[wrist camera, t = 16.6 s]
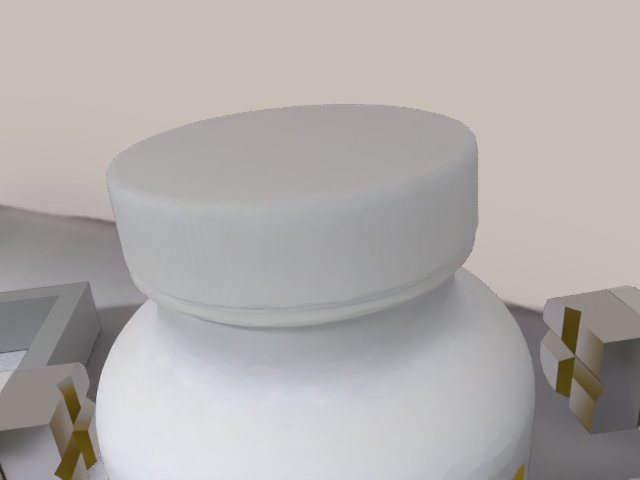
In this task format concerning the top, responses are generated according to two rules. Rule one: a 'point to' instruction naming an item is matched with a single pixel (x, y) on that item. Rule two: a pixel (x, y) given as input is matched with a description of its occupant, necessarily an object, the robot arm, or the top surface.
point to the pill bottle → (310, 305)
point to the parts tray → (49, 324)
